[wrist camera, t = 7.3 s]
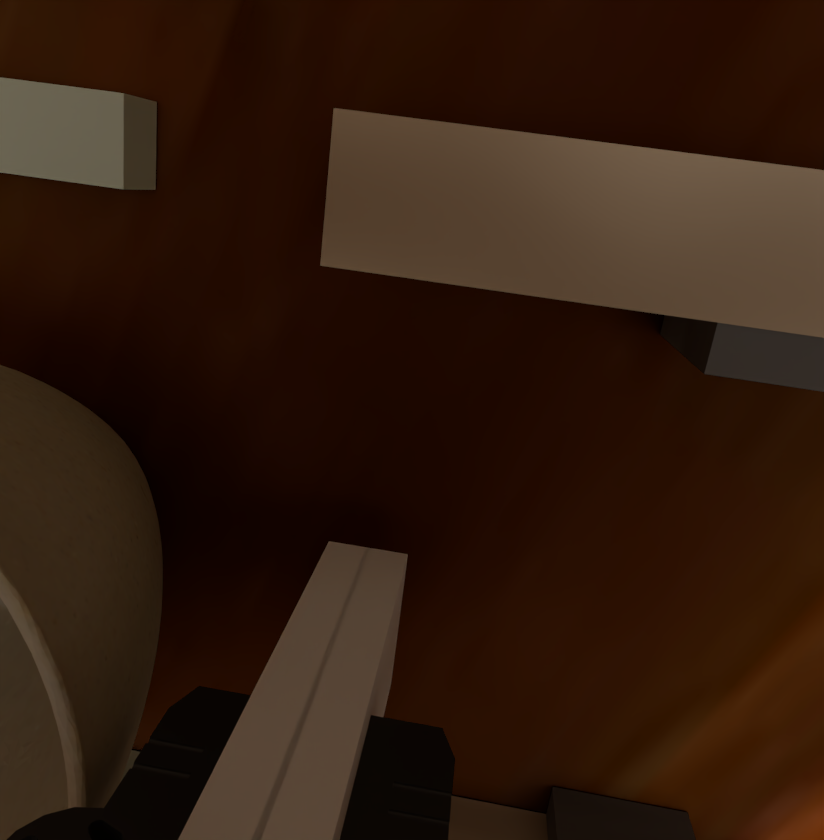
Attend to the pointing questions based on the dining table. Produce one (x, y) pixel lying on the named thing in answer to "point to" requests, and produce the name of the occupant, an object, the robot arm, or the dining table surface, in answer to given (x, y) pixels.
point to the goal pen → (78, 141)
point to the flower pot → (70, 602)
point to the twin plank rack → (590, 287)
